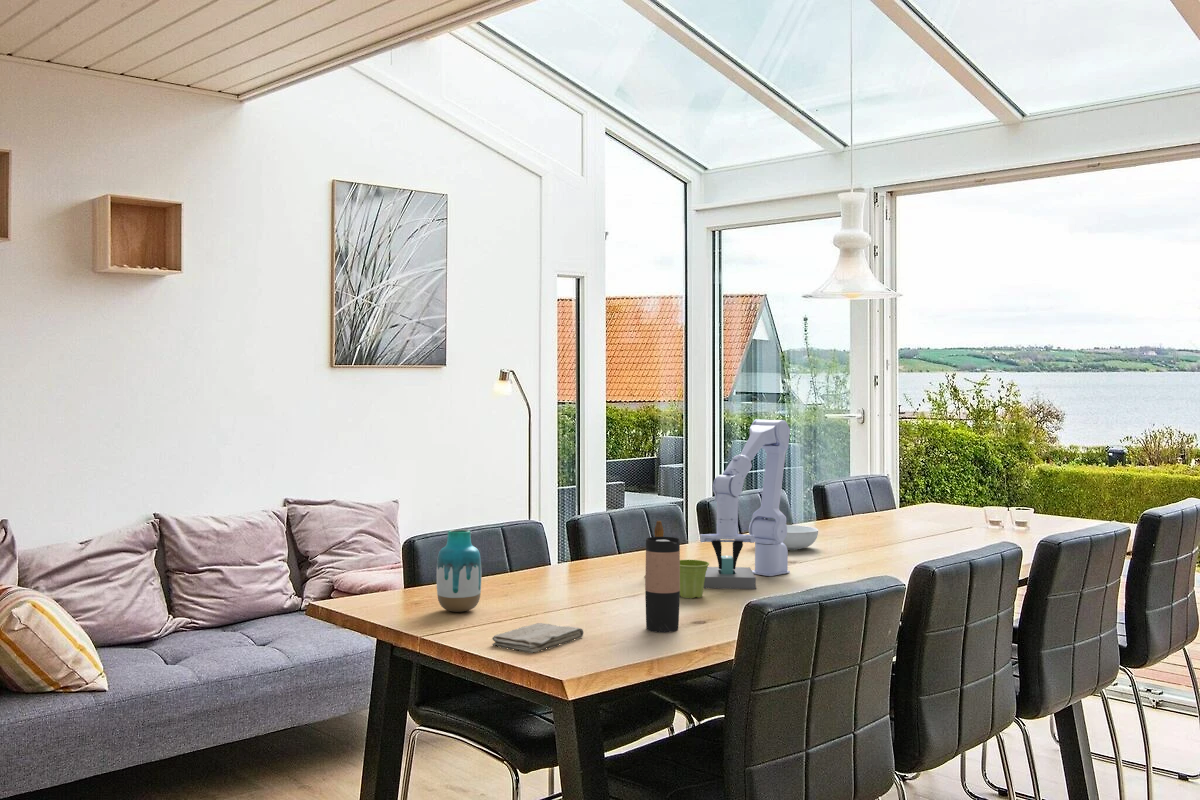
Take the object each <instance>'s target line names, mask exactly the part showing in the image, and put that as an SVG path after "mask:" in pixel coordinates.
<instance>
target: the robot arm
mask: <svg viewBox="0 0 1200 800" xmlns="http://www.w3.org/2000/svg"><path fill="white" fill-rule="evenodd" d="M790 436H791V428H790V426H789V424H788V423H787V421H786V419H780V420H778V419H776V420H775V419H760V418H755V419H754V420H753V422H752V423H751V425H750V427H749V437H748V439H747V441H746V442H745V444H744V446H743V448H742V450H741V452H740V454H736V455H734V456H733V457H732V459H731V460H730V462H729V463H728V465H727V467H726V468H725V469H724V471H723V473H722V474H719V475H718V476H716V477H715V478H714V480H713V483H712V487H711V488H712V491H713V493H714V500H715V502H716V533H705V534H703V533H700V534H699V535H700V536H699V538H700V540H699V541H700V543H711V546H712V547H713V549H714V553H715V556H716V559H717V564H718V567H719V569H722V560H721V556H722V549H723V547H722V543H732V557H733V569H735V567H737V566H736V565H737V562H738V558H739V555H740V554H741V551H742V549H743V546H744V544H743V543H753V544H754V569H751V570H752V572H753V574H754V575H759V576H766V577H774V576H778V575H784V574H785V575H786V574H789V573H791V571H790V570H788V568H789V567H788V561H789V560H788V559H789V558H788V557H789V554H788V553H789V552H788V550H787V547H786V545H785V544H784V543H783V541H784V539H785V538H786V535H787V526H786V525H787V517H786V515H785V514H784V513H783V512H782V511H781V510H780V502H781V497H782V495H781V494H782V484H783V479H784V478H783V477H784V469H785V461H786V454H787V453H786V452H787V450H788V449H789V446H790V445H789V444H790ZM761 449H763V450H764V451H765V452H766V458H765V459H766V460H765V469H764V476H763V482H762V491H761V492H762V493H761V500H760V507H759V508H758V509H756V510H755V511H754V512H753V513H752V516H751V520H750V522H749V524H748V525H749V526H748V534H741V533H738V532H739V528H738V527H739V496H740V495H741V494H742V492H743V489H744V484H745V478H746V477H747V475H748V474H749V472H750V471H751V469H752V466H753V465H752V460H754V458H755V456H756V455H757V454H758V453H759V452H760V450H761Z"/></svg>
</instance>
